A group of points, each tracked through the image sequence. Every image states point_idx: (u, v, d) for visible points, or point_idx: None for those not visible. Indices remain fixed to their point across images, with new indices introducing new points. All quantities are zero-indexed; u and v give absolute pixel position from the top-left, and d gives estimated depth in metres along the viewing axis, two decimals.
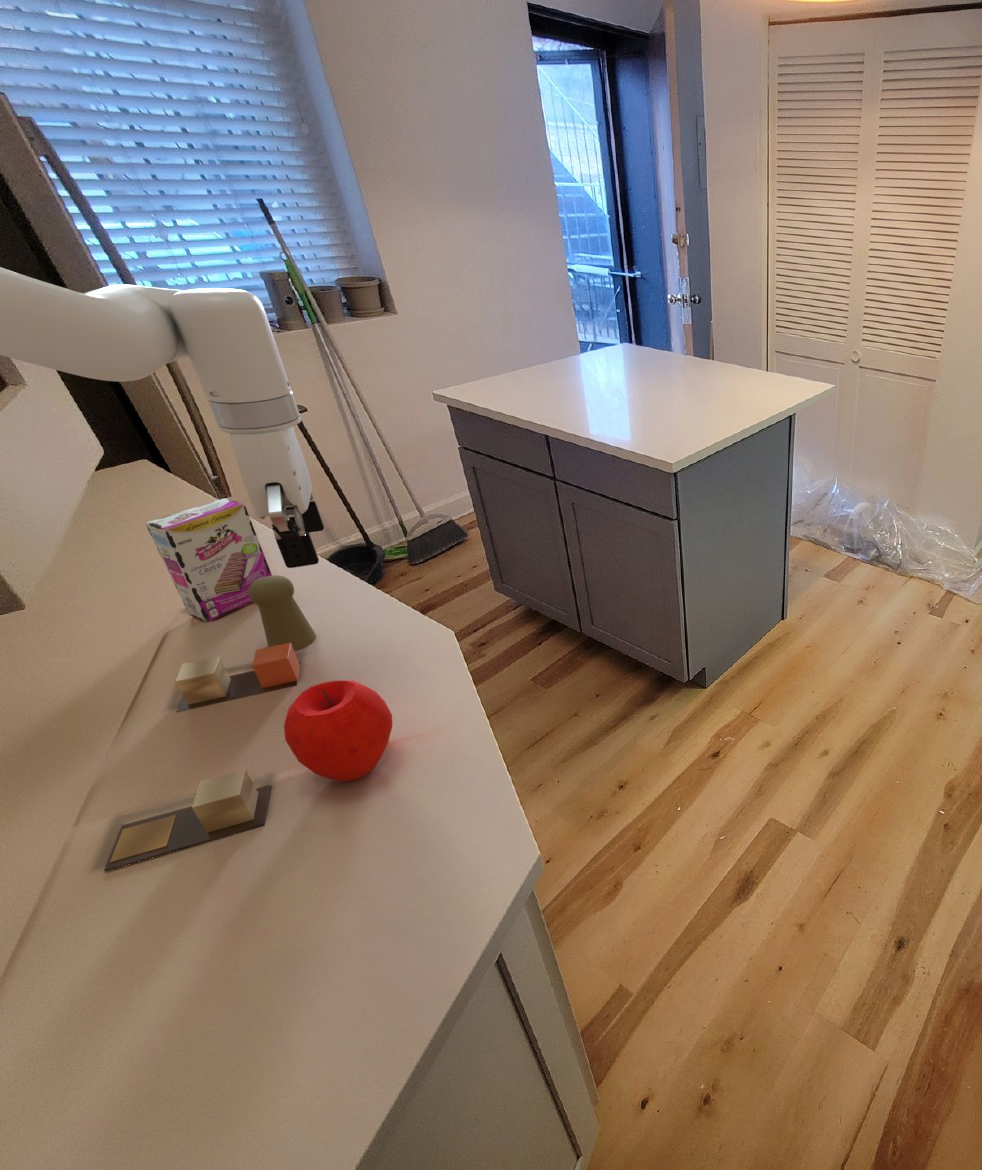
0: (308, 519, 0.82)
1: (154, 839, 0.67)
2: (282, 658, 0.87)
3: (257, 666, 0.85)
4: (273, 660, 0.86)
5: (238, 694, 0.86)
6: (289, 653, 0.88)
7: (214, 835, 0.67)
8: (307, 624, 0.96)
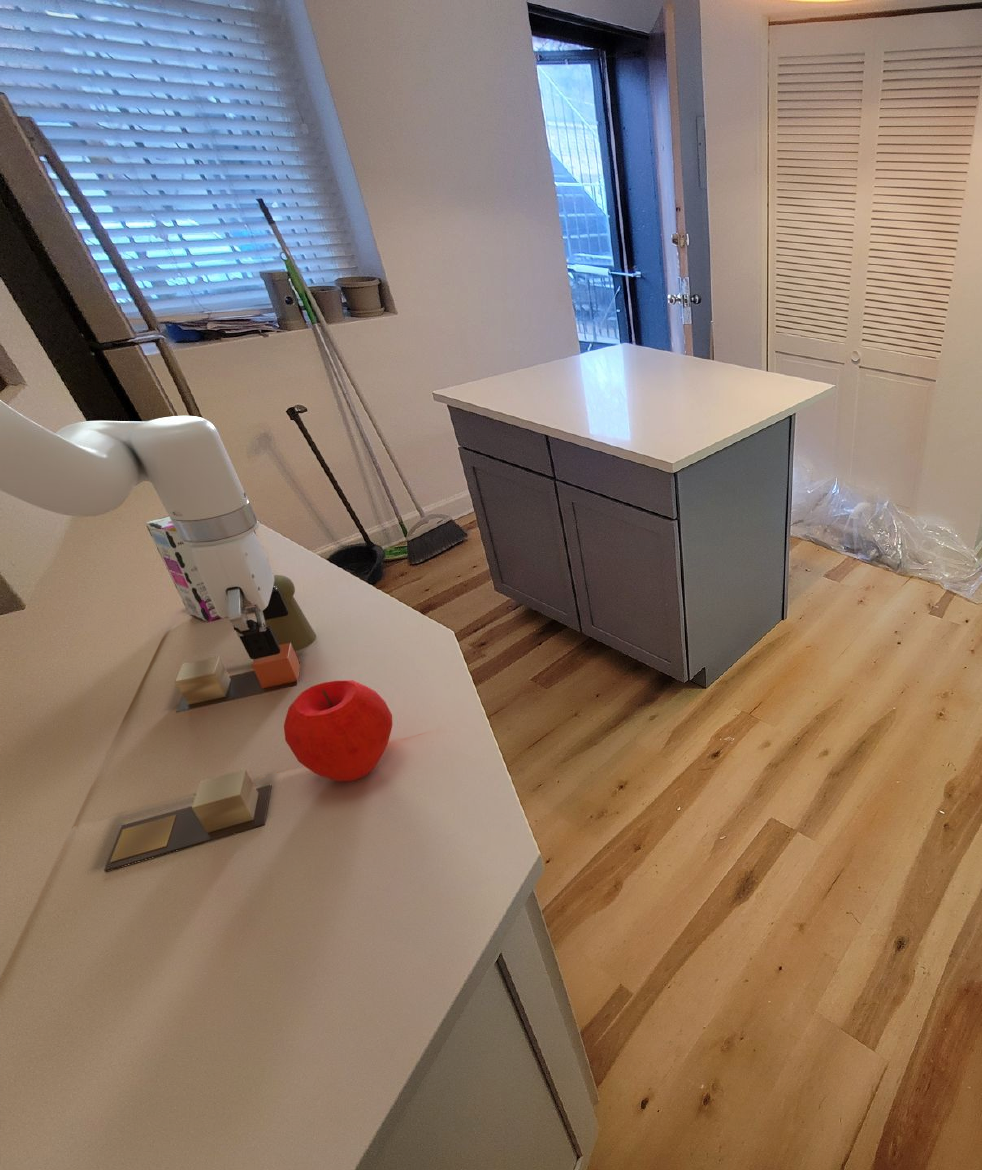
0: (273, 606, 0.89)
1: (154, 839, 0.67)
2: (282, 658, 0.87)
3: (257, 666, 0.85)
4: (273, 660, 0.86)
5: (238, 694, 0.86)
6: (289, 653, 0.88)
7: (214, 835, 0.67)
8: (307, 624, 0.96)
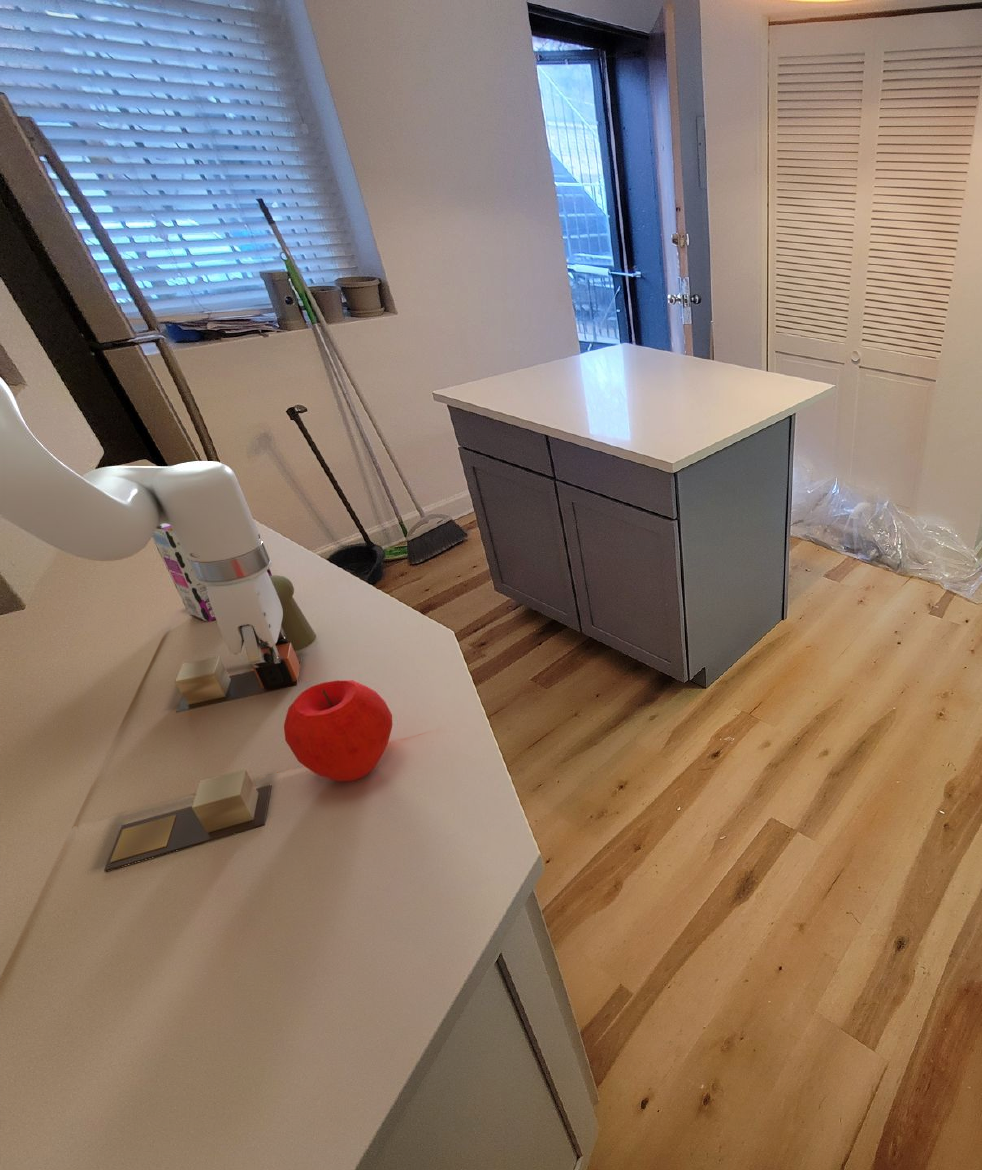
0: None
1: (154, 839, 0.67)
2: (282, 658, 0.87)
3: None
4: None
5: (238, 694, 0.86)
6: (289, 653, 0.88)
7: (214, 835, 0.67)
8: (307, 624, 0.96)
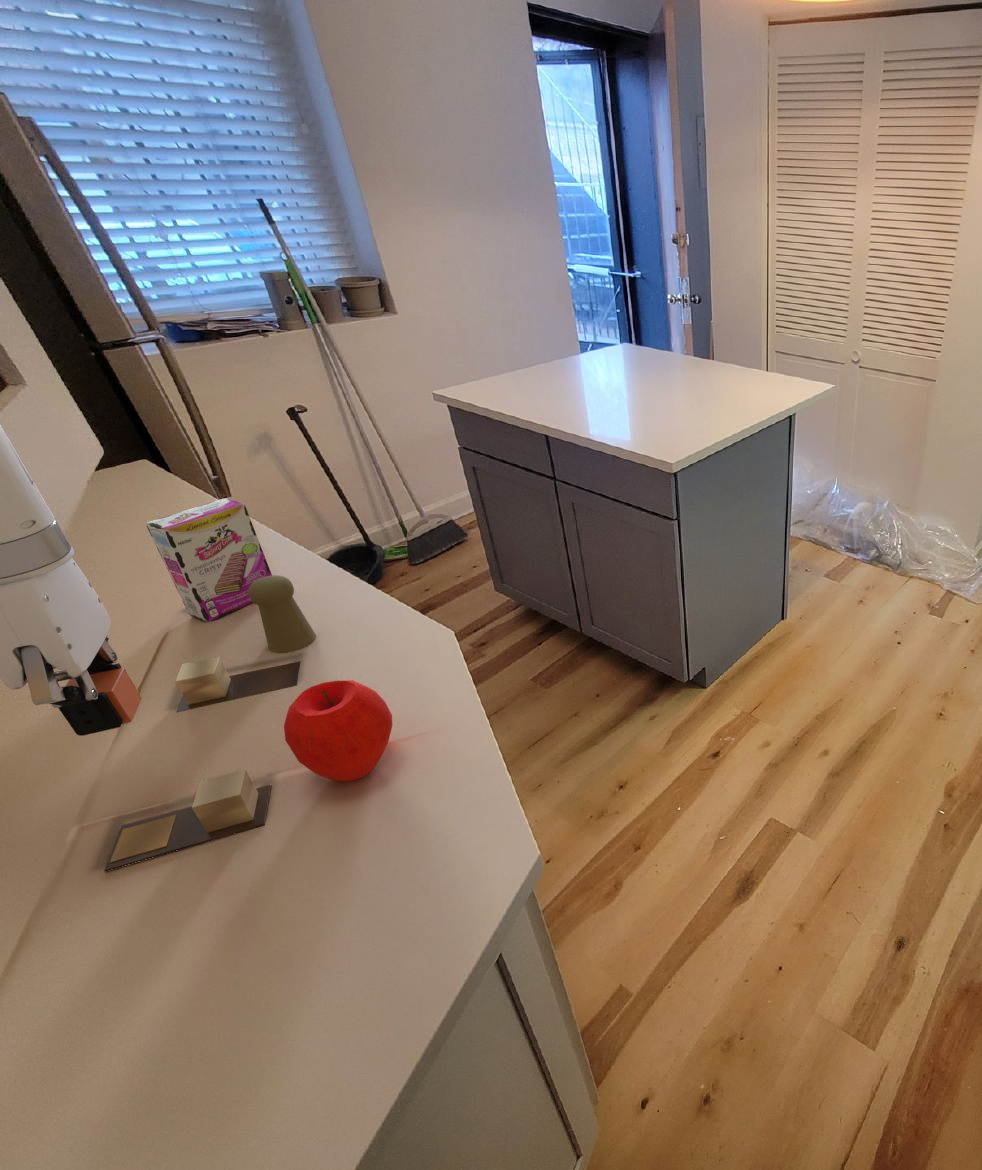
0: None
1: (154, 839, 0.67)
2: None
3: None
4: None
5: (238, 694, 0.86)
6: (117, 683, 0.62)
7: (214, 835, 0.67)
8: (307, 624, 0.96)
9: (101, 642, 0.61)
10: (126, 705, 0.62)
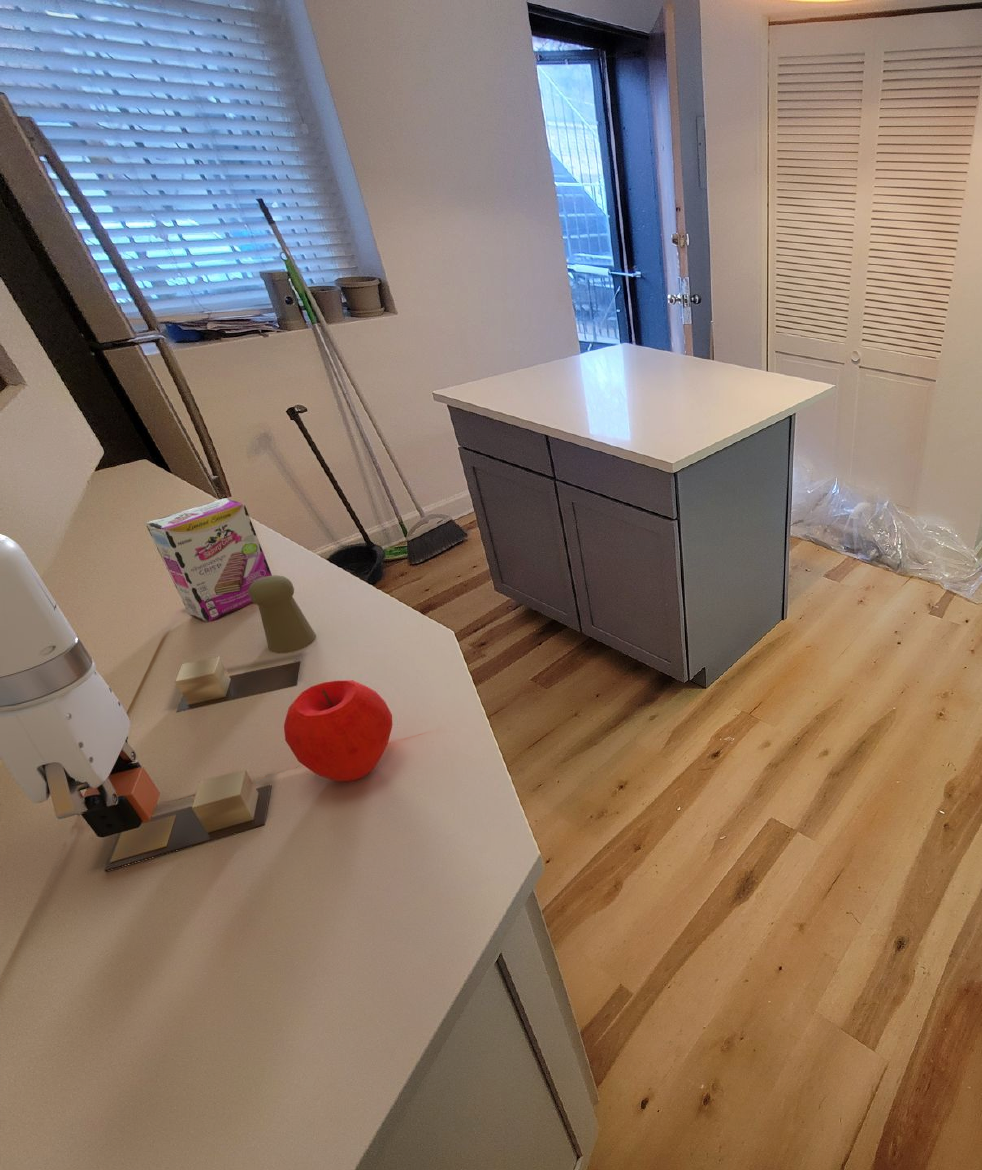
0: None
1: (154, 839, 0.67)
2: (124, 795, 0.62)
3: None
4: None
5: (238, 694, 0.86)
6: (137, 784, 0.63)
7: (214, 835, 0.67)
8: (307, 624, 0.96)
9: (121, 746, 0.62)
10: (145, 805, 0.64)
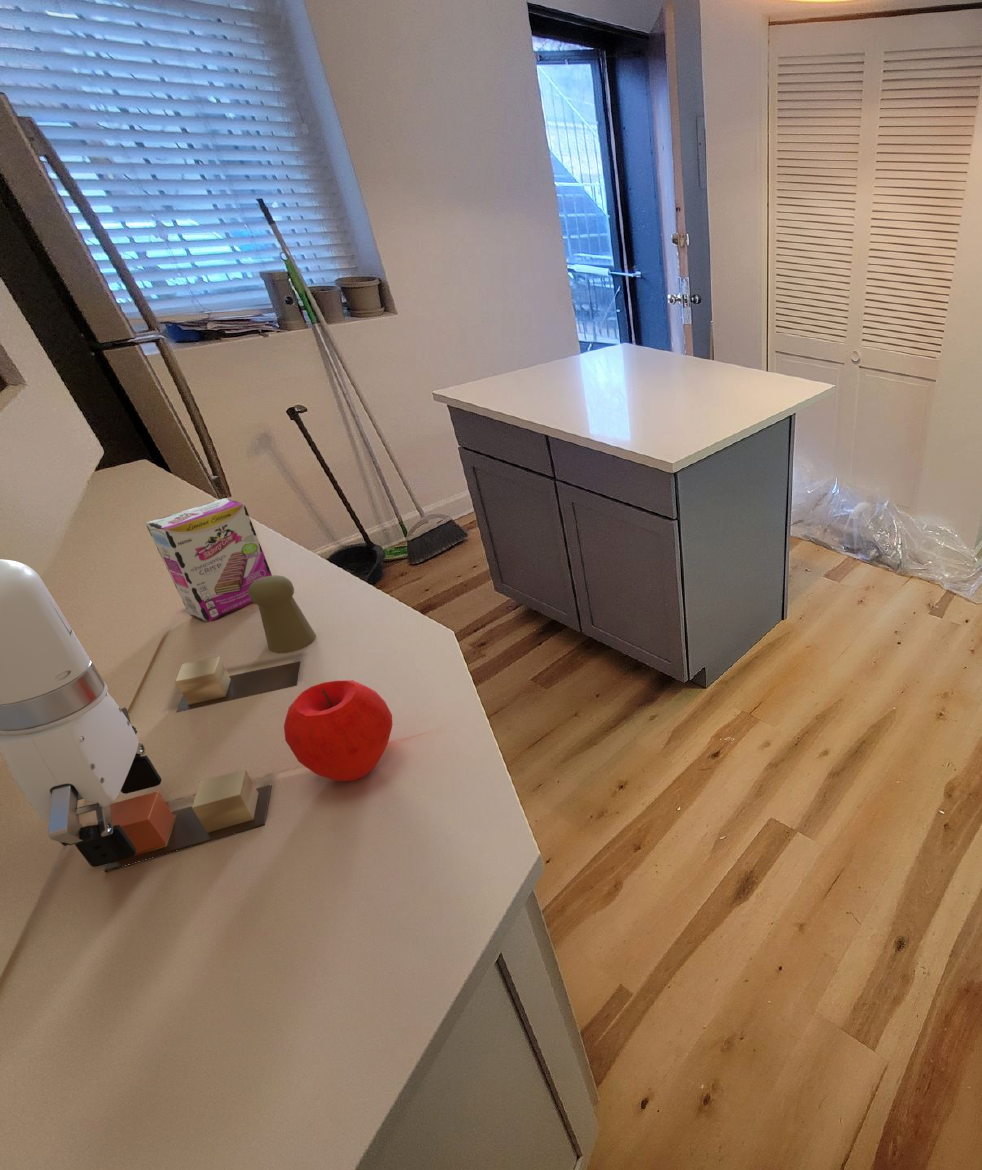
0: (138, 777, 0.68)
1: None
2: (141, 820, 0.64)
3: None
4: (128, 824, 0.63)
5: (238, 694, 0.86)
6: (153, 809, 0.65)
7: (214, 835, 0.67)
8: (307, 624, 0.96)
9: (130, 765, 0.64)
10: (161, 829, 0.66)
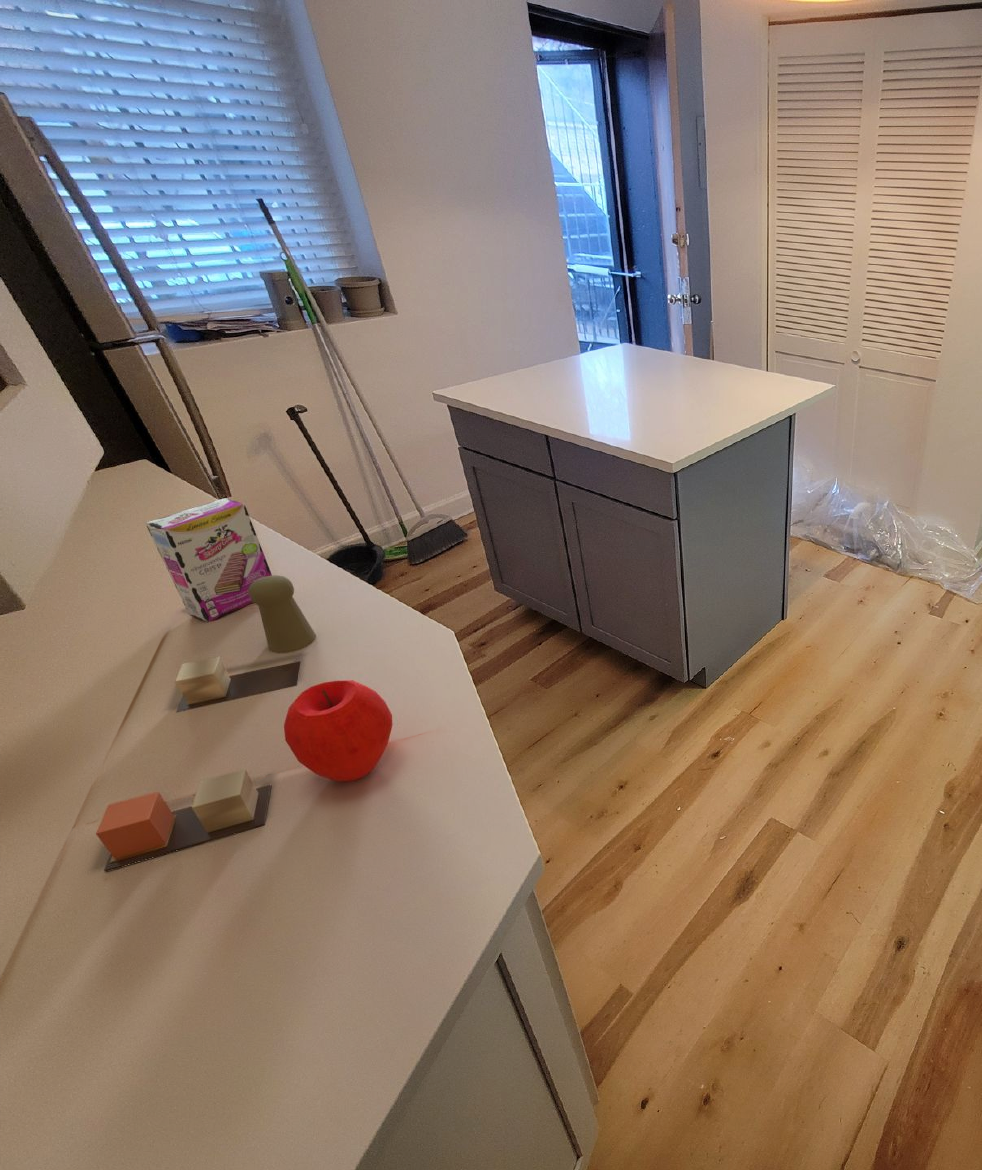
0: None
1: None
2: (141, 820, 0.64)
3: (104, 834, 0.63)
4: (128, 824, 0.63)
5: (238, 694, 0.86)
6: (153, 809, 0.65)
7: (214, 835, 0.67)
8: (307, 624, 0.96)
9: None
10: (161, 829, 0.66)
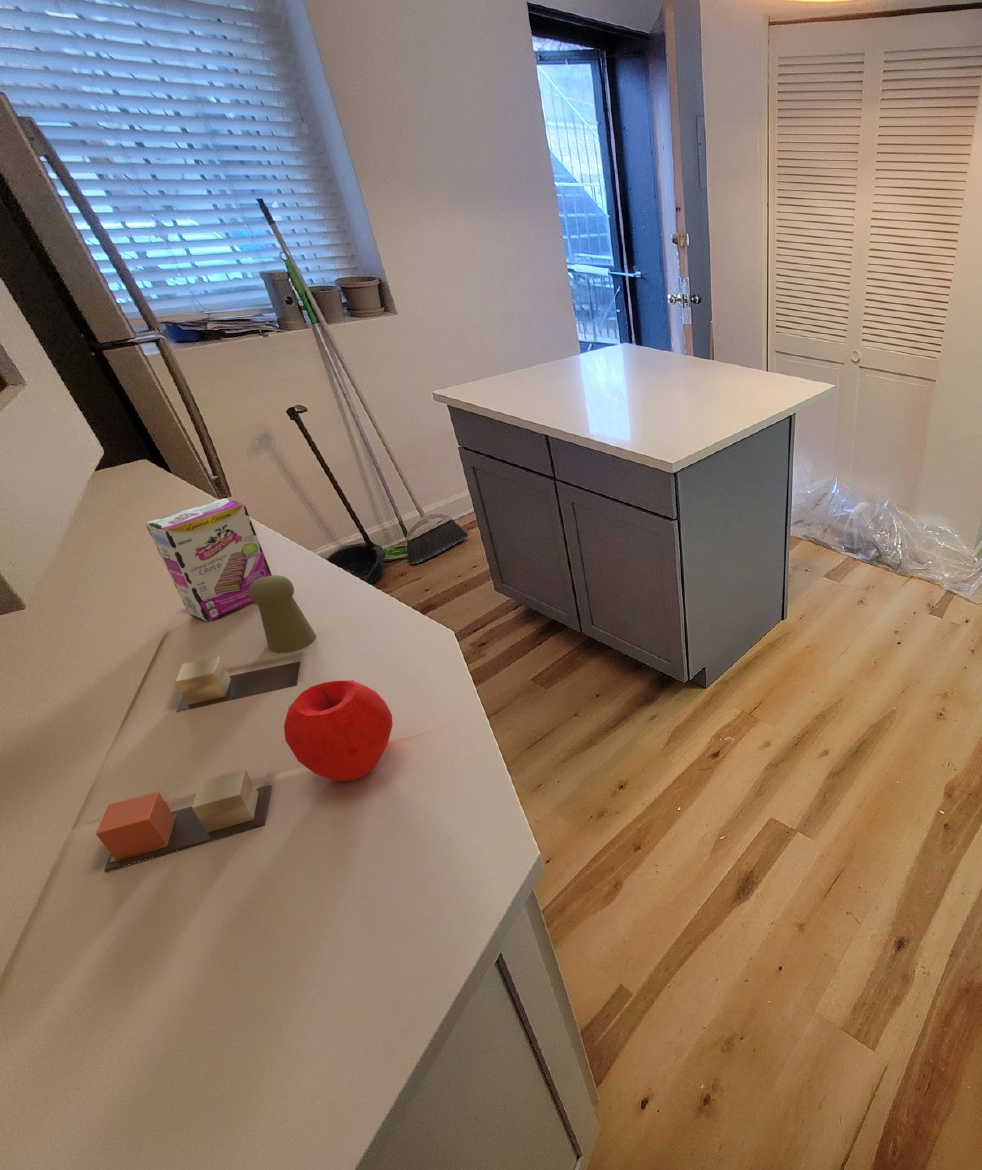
0: None
1: None
2: (141, 820, 0.64)
3: (104, 834, 0.63)
4: (128, 824, 0.63)
5: (238, 694, 0.86)
6: (153, 809, 0.65)
7: (214, 835, 0.67)
8: (307, 624, 0.96)
9: None
10: (161, 829, 0.66)
